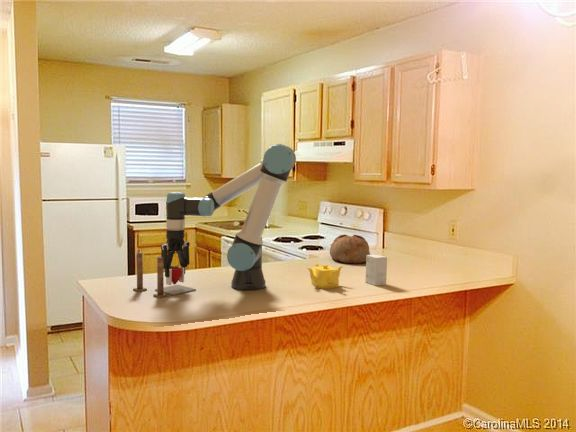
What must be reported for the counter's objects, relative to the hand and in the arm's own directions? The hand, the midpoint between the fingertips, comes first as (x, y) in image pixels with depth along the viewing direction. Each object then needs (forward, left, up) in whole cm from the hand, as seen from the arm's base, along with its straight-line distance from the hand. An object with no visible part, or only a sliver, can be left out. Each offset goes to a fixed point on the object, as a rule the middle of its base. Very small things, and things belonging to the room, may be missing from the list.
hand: (175, 283), depth 212 cm
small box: (-56, -72, -3) cm, 91 cm away
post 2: (-3, +10, -3) cm, 11 cm away
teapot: (-41, -52, -3) cm, 66 cm away
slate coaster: (0, 0, -3) cm, 3 cm away
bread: (-15, -115, -4) cm, 116 cm away
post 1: (+11, +10, -3) cm, 15 cm away
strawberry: (+1, 0, -1) cm, 1 cm away
